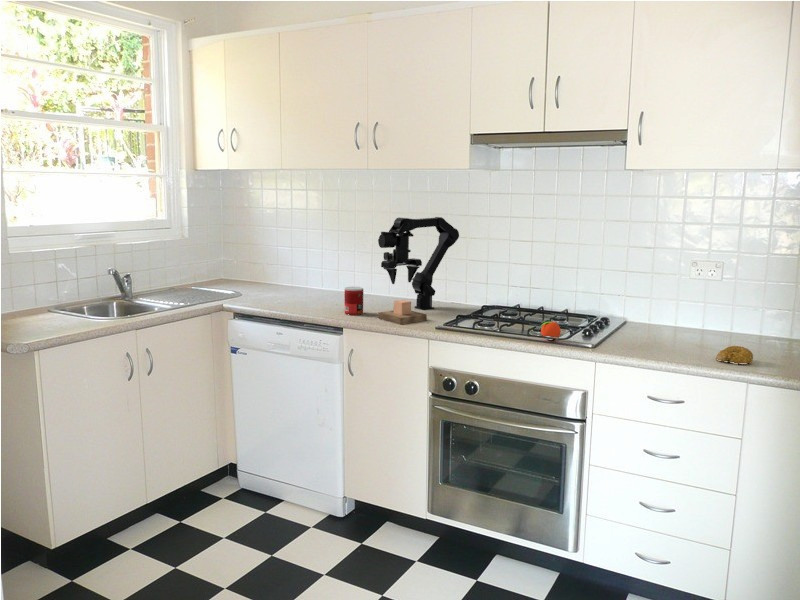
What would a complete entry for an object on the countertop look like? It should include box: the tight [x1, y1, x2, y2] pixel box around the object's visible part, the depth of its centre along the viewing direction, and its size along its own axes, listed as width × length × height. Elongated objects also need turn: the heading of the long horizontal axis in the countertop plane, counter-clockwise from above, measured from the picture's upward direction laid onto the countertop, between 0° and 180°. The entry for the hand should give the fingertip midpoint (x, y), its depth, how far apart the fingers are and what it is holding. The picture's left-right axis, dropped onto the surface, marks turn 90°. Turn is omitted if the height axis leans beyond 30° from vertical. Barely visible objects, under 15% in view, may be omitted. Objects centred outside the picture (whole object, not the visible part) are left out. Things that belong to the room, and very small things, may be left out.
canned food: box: [344, 286, 364, 316], centre depth 282 cm, size 8×8×11 cm
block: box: [393, 299, 412, 315], centre depth 272 cm, size 5×5×5 cm
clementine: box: [539, 320, 562, 338], centre depth 240 cm, size 8×7×7 cm
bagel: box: [715, 345, 754, 364], centre depth 216 cm, size 10×11×5 cm
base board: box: [377, 309, 428, 325], centre depth 272 cm, size 14×14×2 cm
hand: (401, 283), depth 289 cm, fingers open, 9 cm apart
